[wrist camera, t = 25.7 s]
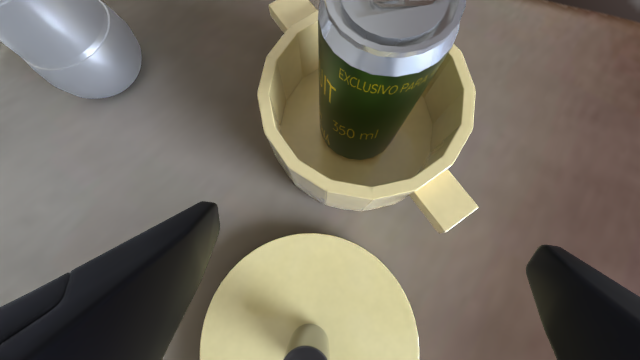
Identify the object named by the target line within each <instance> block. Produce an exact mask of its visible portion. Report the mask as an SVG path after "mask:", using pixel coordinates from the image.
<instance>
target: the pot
mask: <svg viewBox="0 0 640 360" xmlns="http://www.w3.org/2000/svg"><path fill="white" fill-rule="evenodd" d="M269 10H270V15H271V17H272V18H273V20H274V21H275V22H276V23H277V25H278V26H279V27H280V29H281V30H282V31H283V33H284V34H283V36H282V37H281V38H280V40H279V41H278V42H277V43H276V45H275V46H274V47H273V49H272V50H271V51H270V52H269V54H268V55H267V57H266V60H265V64H264V68H263V72H262V76H261V80H260V84H259V88H258V92H257V97H258V103H259V108H260V114H261V119H262V125H263V130H264V133H265V136H266V138H267V140H268V142H269V144H270V146H271V148H272V150H273V152H274V154H275V156H276V158H277V160H278V161H279V163H280V164H281V165H282V167H283V168H284V170H285V171H286V173H287V175H288V176H289V177H290V179H291V180H292V181H293V183H294V184H295V186H297V187H298V188H299V189H301V190H302V191H304V192H305V193H306V194H308V195H309V196H310V197H312V198H314V199H316V200H317V201H319V202H321V203H323V204H326V205H328V206H332V207H336V208H340V209H345V210H355V211H365V210H371V209H377V208H381V207H384V206H388V205H393V204H395V203H397V202H399V201H401V200H402V199H404V198H405V197H407V196H410V197H411V198H412V199H413V201H414V202H415V203H416V205H417V206H418V207H419V209H420V210H421V211H422V212H423V214H424V215H425V216H426V218H427V219H428V220H429V221H430V223H431V224H432V225H433V227H434V228H435V229H436V231H437V232H438V233H444V232H447V231H448V230H450V229H451V228H452V227H454V226H455V225H456V224H458V223H459V222H460V221H462V220H463V219H464V218H466V217H467V216H468V215H470V214H471V213H472V212H474V211H475V210H476V209H478V206H477V205H476V203H475V202H474V201H473V200H472V198H471V197H470V196H469V195H468V194H467V192H466V191H465V190H464V189H463V188H462V186H461V185H460V184H459V183H458V181H457V180H456V179H455V178H454V177H453V175H452V174H451V173H450V172H449V170H448V169H447V168H449V167H450V166H452V164H453V163H454V162H455V160H456V158H457V156H458V154H459V153H460V151H461V149H462V147H463V146H464V144H465V142H466V140H467V139H468V137H469V135H470V133H471V132H472V130H473V121H474V107H475V93H476V90H475V86H474V84H473V81H472V78H471V76H470V73H469V70H468V68H467V65H466V62H465V59H464V57H463V54H462V52H461V51H460V50H459V49H458V48H457V47H456V46H455V44H454V43H453V46H452V48H451V49H450V51H449V53H448V54H447V56H446V57H445V59H444V60H443V62H442V63H441V65H440V67H439V68H438V70H437V71H436V73H435V74H434V76H433V77H432V79H431V81H430V82H429V84H428V85H427V87H426V88H425V90H424V92H423V93H422V95H421V96H420V98H419V99H418V101H417V102H416V104H415V106H414V107H413V109H412V110H411V112H410V113H409V115H408V116H407V118H406V120H405V121H404V123H403V124H402V126H401V127H400V129H399V130H398V132H397V134H396V135H395V137H394V138H393V140H392V141H391V143H390V144H389V145H388V146H387V148H386V149H385V150H384V151H383V152H382V153H380V154H378V155H376V156H374V157H373V158H368V159H363V160H355V159H348V158H345V157H343V156H340V155H338V154H336V153H335V152H334V151H333V150H332V149H331V148H329V147H328V145H327V144H326V142H325V140H324V139H323V137H322V134H321V129H320V111H319V56H318V11H319V10H317V9H316V8H315V7H314V6H313V4H312V3H311V2H310V1H309V0H276V1H274V2H272V3H271V4H269Z"/></svg>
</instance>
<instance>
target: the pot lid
mask: <svg viewBox="0 0 640 360" xmlns="http://www.w3.org/2000/svg"><path fill="white" fill-rule="evenodd" d="M200 360H419V339H418V332H417V327H416V322H415V318H414V315H413V312H412V309H411V306H410V303H409V301H408V299H407V297H406V295H405V293H404V291H403V289H402V288H401V286H400V284H399V283H398V281H397V280H396V278H395V277H394V276H393V275H392V273H391V272H390V271H389V270H388V268H387V267H386V266H385V265H384V264H383V263H382V262H381V261H379V260H378V259H377V258H376V257H375V256H374V255H372V254H371V253H369V252H368V251H367V250H365V249H364V248H362V247H360V246H358V245H356V244H355V243H353V242H350V241H348V240H345V239H343V238H339V237H335V236H331V235H327V234H318V233H301V234H294V235H288V236H285V237H281V238H278V239H275V240H273V241H270V242H268V243H266V244H263V245H262V246H260V247H258V248H257V249H255V250H253V251H252V252H250V253H249V254H248V255H247V256H245V257H244V258H243V259H242V260H240V261H239V262H238V263H237V264H236V265H235V266H234V267H233V268H232V269H231V271H230V272H229V273H228V274H227V276H226V277H225V278H224V280H223V281H222V282H221V284H220V286H219V287H218V289H217V291H216V292H215V294H214V296H213V298H212V301H211V303H210V305H209V307H208V310H207V313H206V316H205V320H204V323H203V328H202V333H201V340H200Z"/></svg>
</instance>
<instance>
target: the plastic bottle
mask: <svg viewBox="0 0 640 360" xmlns="http://www.w3.org/2000/svg"><path fill="white" fill-rule="evenodd" d="M0 41H1V42H2V43H3V44H5V45H6V46H7V47H9V48H10V49H11V50H13V51H14V52H15V53H16V54H18V55H19V56H20V57H21V58H22V59H23V60H24V61H25V62H26V63H27V64H28V65H29V66H30V67H31V68H32V69H33V70H34V71H36V72H37V73H38V74H39V75H40V76H42V77H43V78H44V79H45V80H47V81H48V82H49V83H50V84H52V85H53V86H55V87H56V88H58V89H61V90H63V91H66V92H68V93H70V94H73V95H75V96H78V97H81V98H87V99H96V98H107V97H111V96H114V95H117V94H119V93H121V92H122V91H124V90H125V89H127V88H128V87H129V86H130V85H131V84H132V83H133V82H134V81H135V79H136V78H137V76H138V74H139V71H140V68H141V60H142V54H141V48H140V45H139V42H138V41H137V39H136V37H135V35H134V34H133V32H132V30H131V29H130V27H129V26H128V24H127V23H126V22H125V21H124V20H123V19H122V18H121V17H120V16H118V15H117V14H116V13H115V12H114V11H113V10H112V9H111V8H110V7H109V6H107V5H106V4H105V3H104V2H102V1H101V0H0Z"/></svg>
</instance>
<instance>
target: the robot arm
mask: <svg viewBox="0 0 640 360" xmlns="http://www.w3.org/2000/svg"><path fill="white" fill-rule="evenodd" d="M219 230H220V222H219V214H218V207H217V204H215V203H212V202H204V201H202V202H199V203H197V204H196V205H194V206H192V207H190V208H188V209H186V210H184V211H182V212H181V213H179V214H177V215H175V216H173V217H171V218H169V219H167V220H166V221H164V222H162V223H160V224H158V225H156V226H154V227H152V228H151V229H149V230H147V231H145V232H143V233H141V234H139V235H138V236H136V237H134V238H132V239H130V240H128V241H126V242H124V243H123V244H121V245H119V246H117V247H115V248H113V249H111V250H109V251H108V252H106V253H104V254H102V255H100V256H98V257H96V258H94V259H93V260H91V261H89V262H87V263H85V264H83V265H81V266H79V267H78V268H76V269H74V270H72V271H71V273H66V274H64V275H62V276H61V277H59V278H57V279H55V280H53V281H51V282H49V283H47V284H45V285H44V286H42V287H40V288H38V289H36V290H34V291H32V292H30V293H28V294H26V295H24V296H22V297H20V298H18V299H16V300H14V301H12V302H10V303H8V304H6V305H4V306H2V307H0V360H162V358H163V356H164V354H165V352H166V350H167V348H168V346H169V344H170V342H171V340H172V338H173V336H174V334H175V332H176V330H177V328H178V326H179V324H180V322H181V320H182V318H183V316H184V314H185V312H186V310H187V308H188V306H189V304H190V302H191V300H192V298H193V296H194V294H195V292H196V290H197V288H198V286H199V284H200V282H201V280H202V277H203V275H204V272H205V269H206V267H207V264H208V261H209V259H210V256H211V253H212V250H213V248H214V245H215V242H216V239H217V237H218V234H219ZM526 274H527V277H528V280H529V284H530V287H531V290H532V293H533V296H534V299H535V303H536V306H537V309H538V312H539V315H540V318H541V321H542V324H543V327H544V330H545V332H546V335H547V337H548V339H549V342H550V344H551V346H552V349H553V351H554V353H555V356H556V358H557V360H640V297H639V296H637V295H636V294H634V293H632V292H631V291H629V290H628V289H626V288H625V287H623V286H621V285H620V284H618V283H617V282H615V281H613V280H612V279H610V278H609V277H607V276H605V275H604V274H602V273H601V272H599V271H597V270H596V269H594V268H593V267H591V266H589V265H588V264H586V263H585V262H583V261H581V260H580V259H578V258H577V257H575V256H574V255H572V254H570V253H569V252H567V251H566V250H564V249H562V248H561V247H558V246H551V245H541V246H540V247H538V249H537V250H536V252H535V253H534V255H533V256H532V258H531V260H530V261H529V263H528V264H527V267H526Z"/></svg>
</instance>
